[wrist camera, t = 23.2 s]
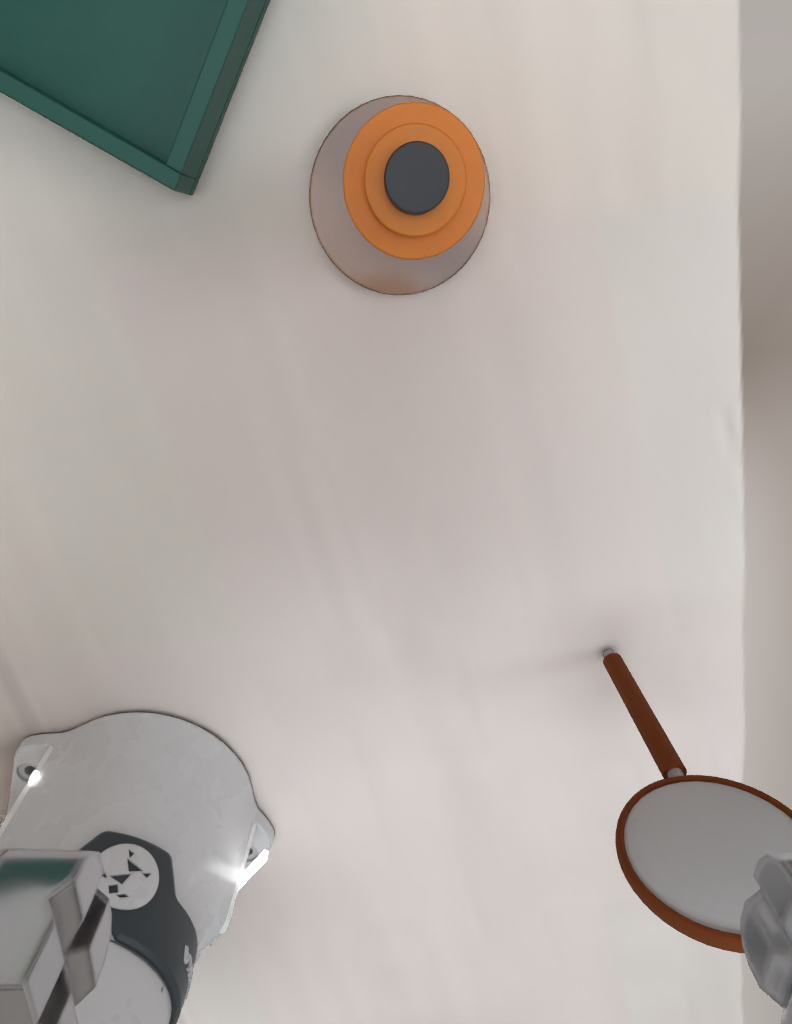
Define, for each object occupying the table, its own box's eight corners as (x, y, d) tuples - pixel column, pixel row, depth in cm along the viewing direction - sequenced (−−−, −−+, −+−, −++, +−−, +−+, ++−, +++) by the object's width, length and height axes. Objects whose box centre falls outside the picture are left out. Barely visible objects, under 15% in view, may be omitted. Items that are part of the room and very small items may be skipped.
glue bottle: (425, 275, 34) (444, 289, 24) (335, 222, 33) (312, 211, 23) (477, 177, 33) (524, 143, 22) (384, 118, 32) (385, 52, 21)
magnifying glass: (542, 670, 44) (657, 976, 26) (541, 648, 44) (658, 946, 25) (673, 655, 44) (884, 952, 26) (673, 632, 43) (890, 921, 25)
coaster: (432, 325, 36) (433, 326, 35) (280, 238, 34) (278, 238, 34) (522, 161, 33) (525, 160, 33) (362, 57, 31) (361, 54, 31)
